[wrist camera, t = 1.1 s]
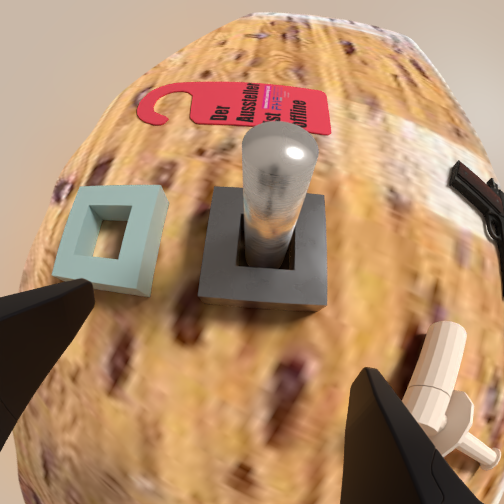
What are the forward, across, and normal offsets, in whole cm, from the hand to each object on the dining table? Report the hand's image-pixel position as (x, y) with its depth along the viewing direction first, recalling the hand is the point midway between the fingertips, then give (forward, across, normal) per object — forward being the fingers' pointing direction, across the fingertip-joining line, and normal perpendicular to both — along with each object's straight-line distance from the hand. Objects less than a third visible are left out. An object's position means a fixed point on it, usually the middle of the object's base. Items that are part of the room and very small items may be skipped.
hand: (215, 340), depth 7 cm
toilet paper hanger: (+8, -24, +12) cm, 28 cm away
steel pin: (+15, 0, +4) cm, 16 cm away
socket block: (+15, 0, +4) cm, 15 cm away
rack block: (+13, +13, +6) cm, 20 cm away
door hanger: (+28, +9, -9) cm, 31 cm away
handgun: (+24, -26, -4) cm, 36 cm away
